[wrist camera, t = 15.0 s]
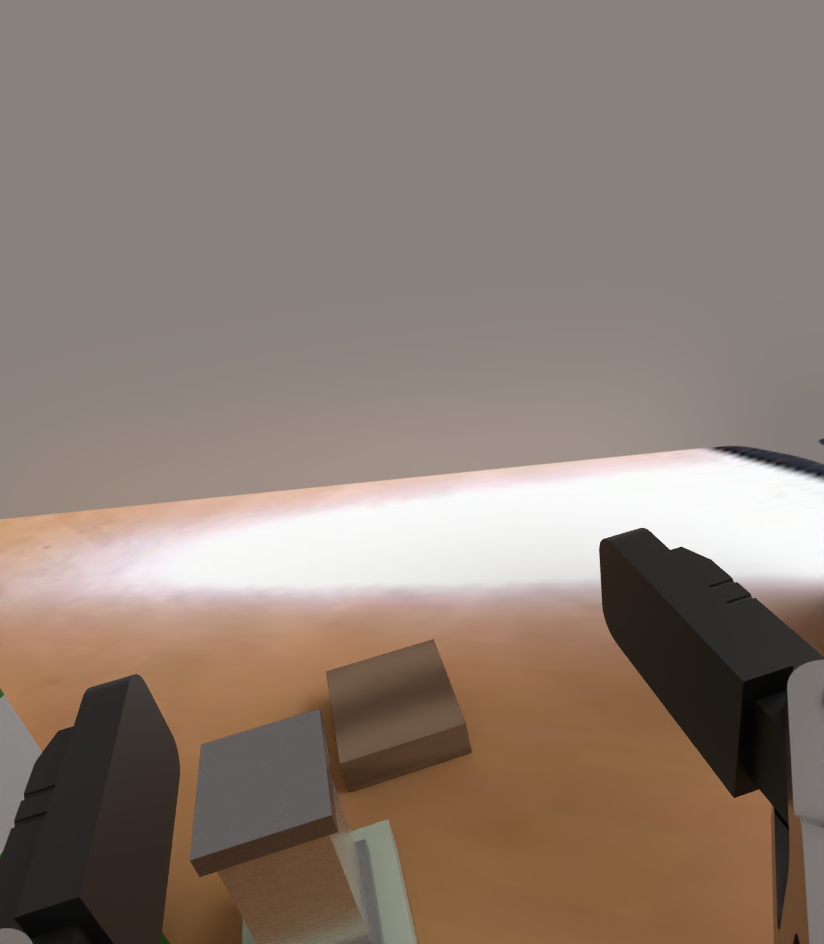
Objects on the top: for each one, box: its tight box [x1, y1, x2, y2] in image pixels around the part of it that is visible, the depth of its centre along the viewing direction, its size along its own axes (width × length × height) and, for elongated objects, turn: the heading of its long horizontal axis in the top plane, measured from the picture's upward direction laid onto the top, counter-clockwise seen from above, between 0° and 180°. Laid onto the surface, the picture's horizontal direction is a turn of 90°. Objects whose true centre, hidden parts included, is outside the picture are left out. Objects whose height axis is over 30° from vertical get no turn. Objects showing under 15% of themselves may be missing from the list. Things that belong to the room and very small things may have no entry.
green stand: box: [242, 819, 417, 944], centre depth 36 cm, size 9×9×3 cm
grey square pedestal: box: [190, 709, 384, 944], centre depth 32 cm, size 6×6×12 cm
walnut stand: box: [326, 639, 471, 792], centre depth 49 cm, size 9×9×3 cm
